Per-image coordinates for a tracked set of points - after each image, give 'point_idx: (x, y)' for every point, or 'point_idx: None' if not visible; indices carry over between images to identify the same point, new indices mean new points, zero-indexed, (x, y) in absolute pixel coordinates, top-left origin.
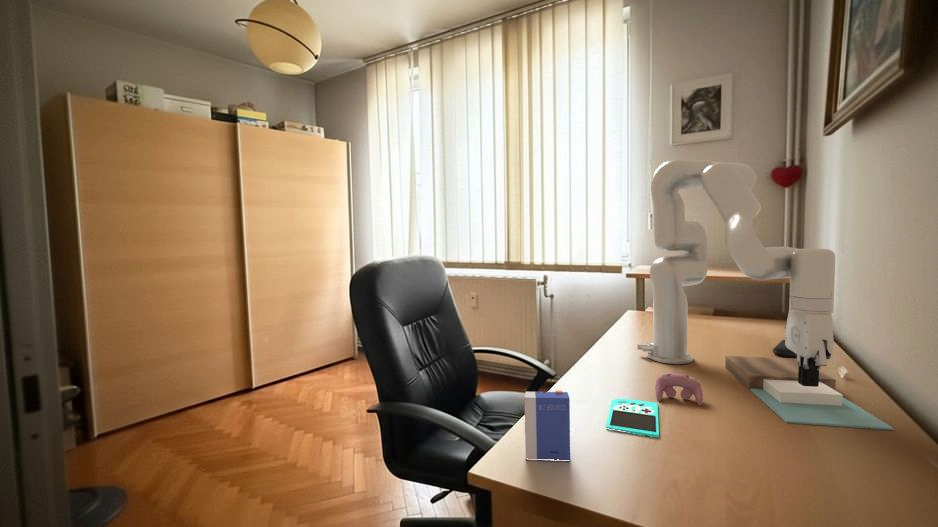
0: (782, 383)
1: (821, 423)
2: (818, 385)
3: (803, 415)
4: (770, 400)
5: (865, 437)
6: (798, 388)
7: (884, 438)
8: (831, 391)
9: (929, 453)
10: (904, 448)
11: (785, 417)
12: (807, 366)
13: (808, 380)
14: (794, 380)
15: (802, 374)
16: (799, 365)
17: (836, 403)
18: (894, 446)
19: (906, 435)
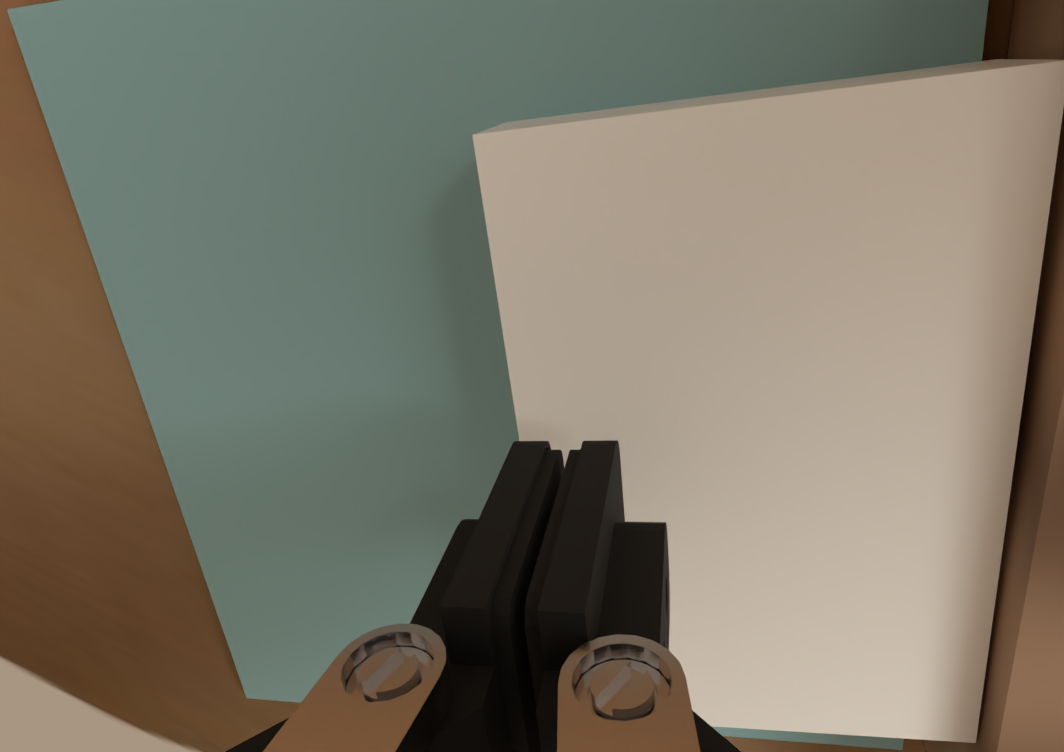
0: (859, 298)
1: (115, 306)
2: (826, 664)
3: (219, 228)
4: (538, 22)
5: (58, 485)
6: (674, 417)
7: (102, 577)
8: None
9: (19, 665)
10: (15, 596)
11: (82, 28)
12: (319, 694)
13: (453, 539)
14: (1015, 505)
15: (472, 536)
16: (599, 643)
17: None
18: (13, 565)
19: (209, 703)
